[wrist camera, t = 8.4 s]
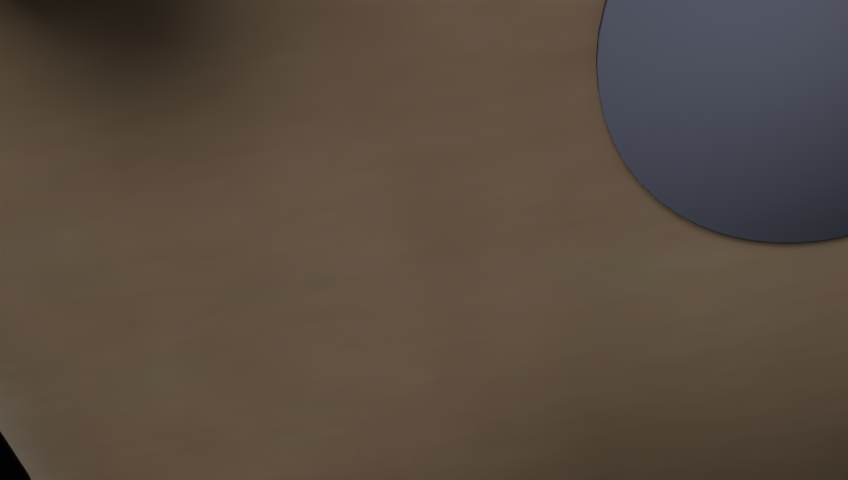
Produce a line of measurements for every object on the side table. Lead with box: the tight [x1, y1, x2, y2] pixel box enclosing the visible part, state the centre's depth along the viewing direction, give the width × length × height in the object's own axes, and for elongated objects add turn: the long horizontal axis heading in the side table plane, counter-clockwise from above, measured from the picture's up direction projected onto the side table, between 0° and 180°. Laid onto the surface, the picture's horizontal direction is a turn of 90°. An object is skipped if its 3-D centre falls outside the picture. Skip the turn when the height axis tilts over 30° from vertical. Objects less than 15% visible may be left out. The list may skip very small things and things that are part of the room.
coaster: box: [596, 0, 848, 243], centre depth 18 cm, size 10×10×1 cm
